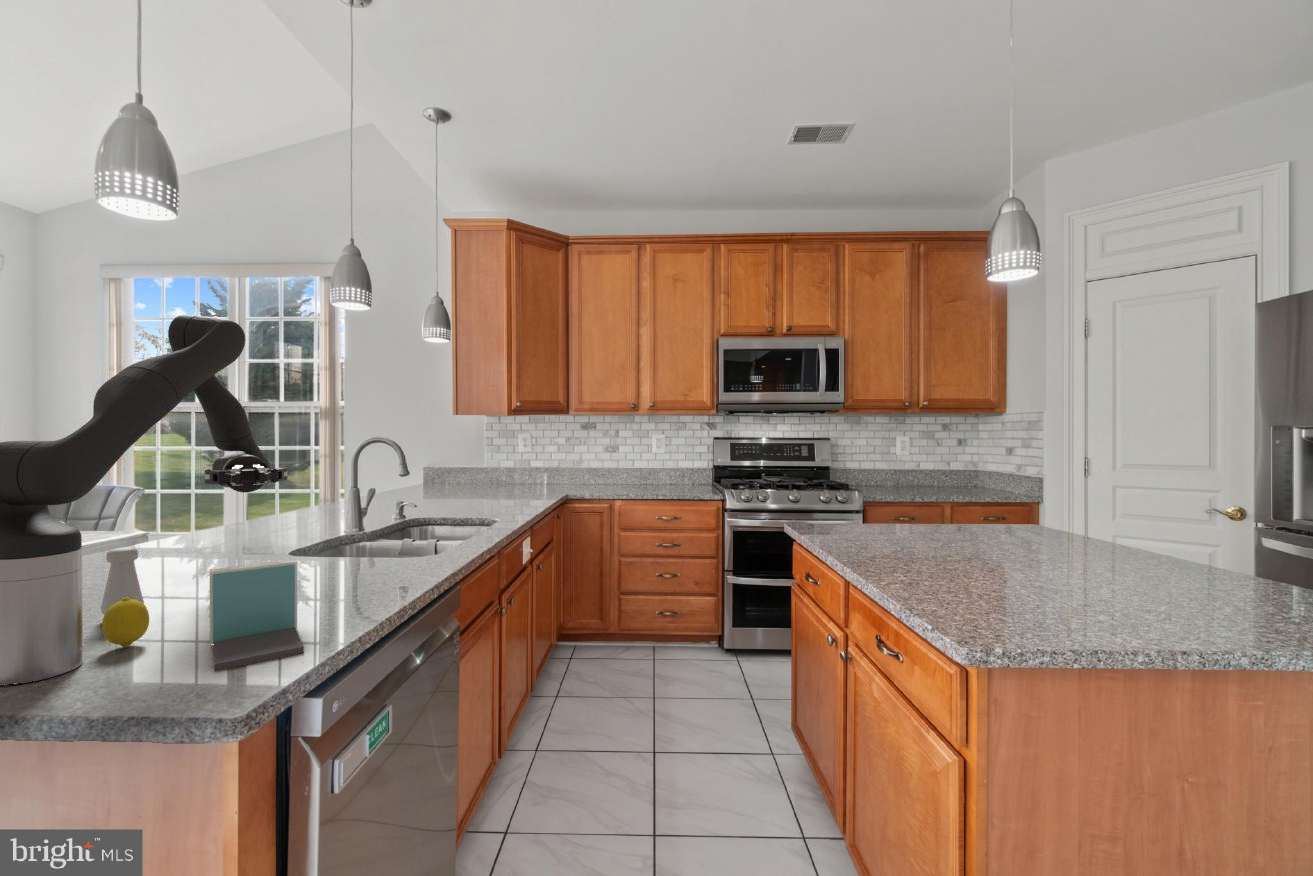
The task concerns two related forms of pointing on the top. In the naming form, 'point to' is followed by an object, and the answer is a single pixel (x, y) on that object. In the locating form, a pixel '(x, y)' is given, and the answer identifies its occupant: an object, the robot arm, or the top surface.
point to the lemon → (125, 622)
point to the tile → (252, 599)
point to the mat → (256, 648)
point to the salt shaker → (121, 577)
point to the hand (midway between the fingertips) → (250, 478)
